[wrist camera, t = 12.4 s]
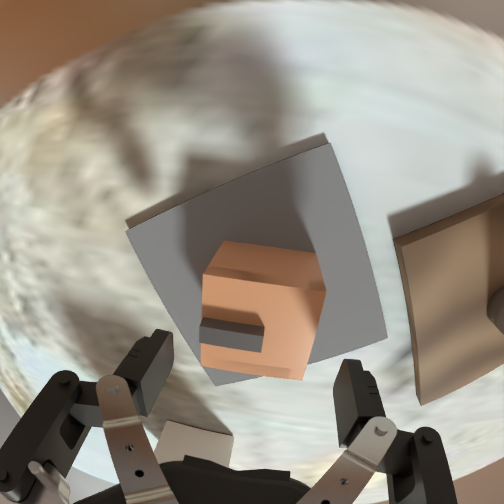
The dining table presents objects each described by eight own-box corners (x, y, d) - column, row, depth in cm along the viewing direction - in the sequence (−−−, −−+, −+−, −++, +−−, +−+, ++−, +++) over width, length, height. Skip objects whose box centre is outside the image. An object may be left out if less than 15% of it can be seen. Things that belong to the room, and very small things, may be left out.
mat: (385, 333, 20) (387, 337, 19) (216, 381, 23) (215, 386, 22) (328, 143, 16) (330, 142, 15) (129, 229, 19) (125, 231, 18)
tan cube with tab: (315, 253, 18) (328, 300, 12) (299, 329, 20) (302, 390, 14) (223, 240, 18) (198, 281, 12) (218, 318, 20) (197, 375, 14)
